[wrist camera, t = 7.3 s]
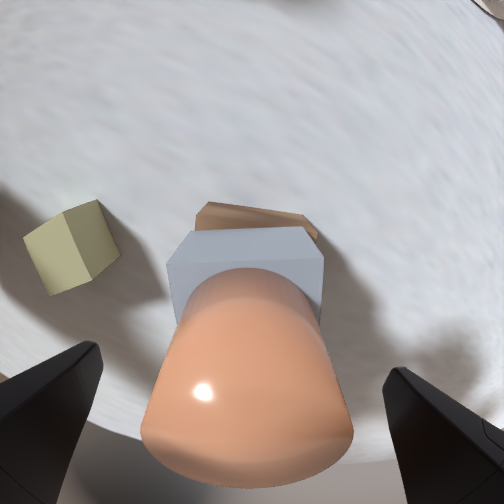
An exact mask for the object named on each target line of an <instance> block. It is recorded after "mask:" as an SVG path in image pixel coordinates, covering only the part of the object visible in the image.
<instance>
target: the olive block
mask: <svg viewBox="0 0 504 504" xmlns="http://www.w3.org/2000/svg"><path fill="white" fill-rule="evenodd" d="M23 239H24V242H25V244H26V247H27V249H28V252H29V254H30V256H31V259H32V261H33V263H34V265H35V268H36V270H37V272H38V274H39V276H40V278H41V280H42V282H43V284H44V286H45V288H46V290H47V292H48V294H49V296H50V297H51V296H53V295H56V294H58V293H61V292H63V291H66V290H68V289H71V288H74V287H76V286H79V285H81V284H84V283H86V282H89V281H92V280H93V279H94V278H95V277H97V276H98V275H99V274H100V273H101V272H102V271H103V270H104V269H106V268H107V267H108V266H109V265H110V264H111V263H112V262H114V261H115V260H116V259H117V258H118V257H119V256H121V255H120V253H119V251H118V248H117V246H116V244H115V242H114V239H113V237H112V235H111V232H110V230H109V228H108V225H107V223H106V220H105V218H104V215H103V213H102V210H101V208H100V205H99V203H98V200H97V199H96V200H94V201H91V202H88V203H85V204H82V205H80V206H77V207H74V208H72V209H69V210H66V211H64V212H62V213H60V214H58V215H57V216H55V217H54V218H52V219H50V220H49V221H47V222H46V223H44V224H43V225H41V226H40V227H38V228H36V229H35V230H33V231H32V232H30V233H29V234H28V235H26V236H25V237H23Z"/></svg>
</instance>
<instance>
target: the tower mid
mask: <svg viewBox="0 0 504 504" xmlns="http://www.w3.org/2000/svg"><path fill="white" fill-rule="evenodd" d="M166 266H167V273H168V279H169V285H170V290H171V296H172V302H173V307H174V312H175V317H176V322H177V325H178V322H179V319H180V317H181V314H182V312H183V309H184V307H185V304H186V302H187V300H188V298H189V296H190V295H191V293H192V292H193V291H194V290H195V288H196V287H198V286H199V285H200V284H201V283H202V282H203V281H205V280H206V279H208V278H209V277H211V276H213V275H215V274H217V273H220V272H223V271H226V270H230V269H235V268H259V269H265V270H269V271H272V272H275V273H278V274H280V275H282V276H284V277H286V278H287V279H289V280H291V281H292V282H293V283H294V284H296V285H297V286H298V287H299V288H300V289H301V290H302V291H303V293H304V294H305V296H306V297H307V299H308V301H309V303H310V305H311V307H312V310H313V313H314V315H315V318H316V321H317V324H318V326H319V324H320V313H321V300H322V286H323V270H324V257H323V255H322V254H321V252H320V251H319V249H318V248H317V246H316V245H315V244H314V242H313V241H312V239H311V238H310V236H309V235H308V234H307V232H306V231H305V229H304V228H303V227H302V226H300V227H271V228H245V229H223V230H203V231H190V233H189V234H188V235H187V237H186V238H185V239H184V240H183V242H182V243H181V244H180V246H179V247H178V248H177V250H176V251H175V252H174V254H173V255H172V256H171V258H170V259H169V260H168V262H167V263H166Z"/></svg>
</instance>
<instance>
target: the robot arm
mask: <svg viewBox="0 0 504 504" xmlns="http://www.w3.org/2000/svg"><path fill="white" fill-rule="evenodd" d="M102 372H103V360H102V357H101V353H100V348H99V346H98V344H97V343H94V342H91V341H83V342H81V343H79V344H77V345H75V346H73V347H71V348H70V349H68V350H66V351H64V352H62V353H60V354H58V355H56V356H54V357H52V358H50V359H48V360H46V361H44V362H42V363H40V364H38V365H36V366H34V367H32V368H30V369H28V370H26V371H24V372H22V373H20V374H18V375H16V376H14V377H12V378H10V379H8V380H6V381H4V382H2V383H0V504H56V502H57V499H58V496H59V493H60V490H61V487H62V483H63V481H64V478H65V475H66V472H67V469H68V466H69V463H70V461H71V458H72V455H73V452H74V450H75V447H76V444H77V442H78V439H79V437H80V434H81V432H82V429H83V427H84V424H85V422H86V420H87V417H88V415H89V412H90V410H91V407H92V404H93V400H94V397H95V394H96V390H97V387H98V384H99V381H100V378H101V375H102ZM382 393H383V398H384V403H385V409H386V414H387V420H388V425H389V430H390V434H391V438H392V442H393V445H394V449H395V453H396V457H397V460H398V464H399V468H400V472H401V477H402V481H403V485H404V490H405V494H406V499H407V503H408V504H504V431H502V430H501V429H499V428H497V427H496V426H494V425H492V424H491V423H489V422H488V421H486V420H484V419H483V418H481V417H480V416H478V415H477V414H475V413H474V412H472V411H471V410H469V409H468V408H466V407H465V406H463V405H461V404H460V403H458V402H457V401H455V400H454V399H452V398H451V397H449V396H448V395H446V394H445V393H443V392H442V391H440V390H439V389H437V388H436V387H434V386H433V385H431V384H430V383H428V382H427V381H425V380H424V379H422V378H421V377H419V376H418V375H416V374H415V373H413V372H412V371H410V370H409V369H407V368H406V367H395V368H393V369H392V370H391V371H390V373H389V375H388V377H387V379H386V381H385V383H384V385H383V389H382Z"/></svg>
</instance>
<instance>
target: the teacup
mask: <svg viewBox="0 0 504 504" xmlns="http://www.w3.org/2000/svg"><path fill="white" fill-rule="evenodd" d="M474 1H475V2H476V3H477V4H478V5H479V6H480V7H482V8H483V9H484V10H485V11H487V12H488V13H490V14H491V15H493V16H494V17H496V18H498V19H501V20H504V0H474Z"/></svg>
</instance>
